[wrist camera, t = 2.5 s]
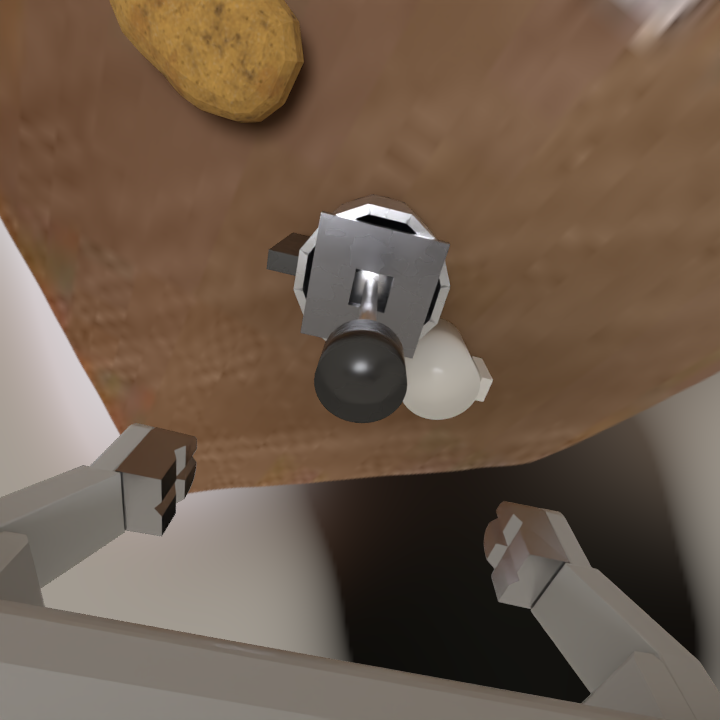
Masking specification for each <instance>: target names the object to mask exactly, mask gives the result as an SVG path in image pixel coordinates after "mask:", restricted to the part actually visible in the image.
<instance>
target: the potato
mask: <svg viewBox="0 0 720 720" xmlns="http://www.w3.org/2000/svg"><path fill="white" fill-rule="evenodd" d="M110 3H111V6H112V8H113V11H114V13H115V15H116V18H117V20H118V22H119V25H120V27H121V30H122V32H123V33H124V35H125V36H126V37H127V38H128V39H129V40H130V41H131V42H132V44H133V45H134V46H135V47H136V48H137V49H138V50H139V52H140V53H141V54H142V55H143V56H144V57H145V58H146V59H147V60H148V61H149V62H150V63H151V64H153V65H154V66H155V67H156V68H157V69H158V70H159V71H160V72H161V73H162V74H163V75H164V76H165V78H166V79H167V80H168V81H169V82H170V83H171V85H172V86H173V87H174V88H175V89H176V91H177V92H178V93H179V94H180V95H181V96H182V97H184V98H185V99H186V100H188V101H189V102H190V103H192V104H193V105H194V106H196V107H197V108H199V109H200V110H202V111H205V112H208V113H211V114H214V115H218V116H221V117H224V118H227V119H231V120H234V121H237V122H240V123H247V122H261V121H263V120H264V119H265V118H267V117H268V116H269V115H271V114H272V113H273V112H275V111H276V110H277V109H279V108H280V107H281V106H283V105H284V104H285V102H286V99H287V97H288V95H289V93H290V91H291V89H292V86H293V84H294V82H295V80H296V78H297V76H298V74H299V71H300V69H301V67H302V65H303V63H304V59H303V50H302V42H301V33H300V25H299V21H298V20H297V18H296V17H295V15H294V14H293V13H292V11H291V10H290V8H289V7H288V5H287V4H286V3H285V1H284V0H110Z"/></svg>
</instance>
